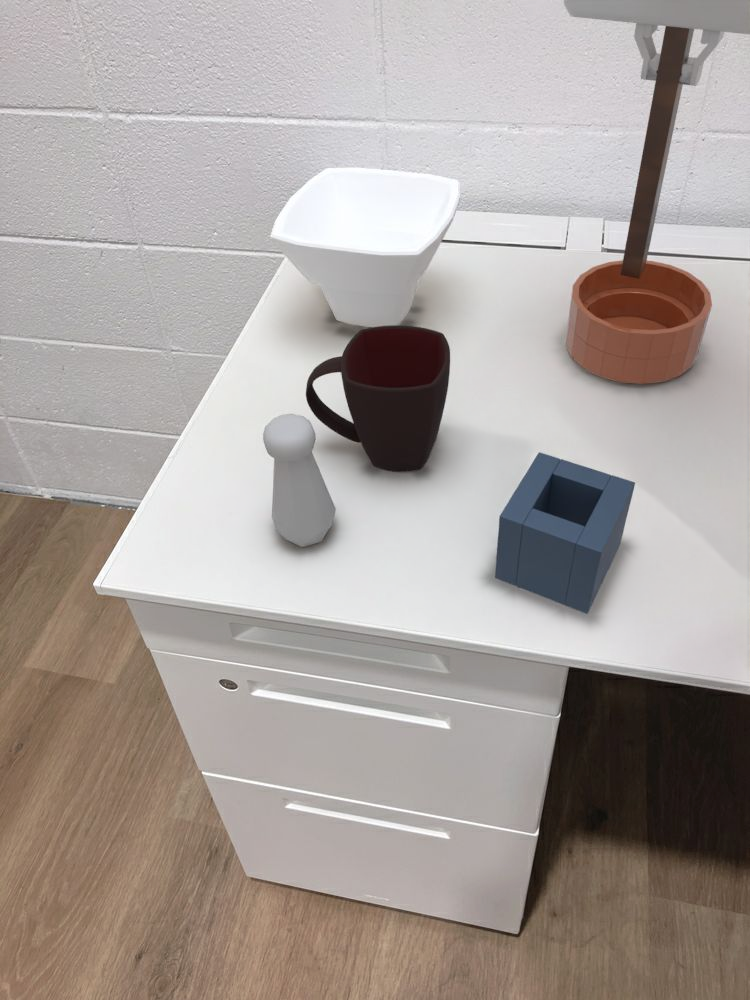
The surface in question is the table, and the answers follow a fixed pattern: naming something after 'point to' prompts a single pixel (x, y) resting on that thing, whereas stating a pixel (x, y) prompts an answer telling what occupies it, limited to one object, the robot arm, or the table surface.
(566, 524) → the box
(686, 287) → the terracotta round dish
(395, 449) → the mug
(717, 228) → the table surface
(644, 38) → the robot arm
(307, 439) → the salt shaker
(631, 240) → the stirring stick
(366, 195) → the bowl
